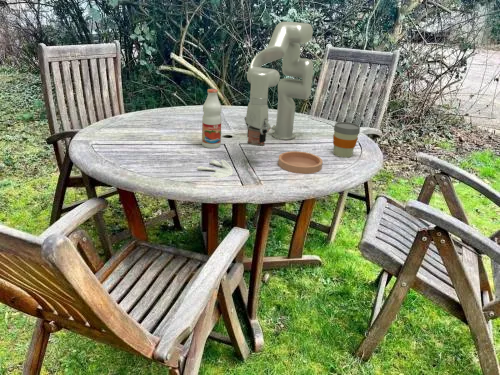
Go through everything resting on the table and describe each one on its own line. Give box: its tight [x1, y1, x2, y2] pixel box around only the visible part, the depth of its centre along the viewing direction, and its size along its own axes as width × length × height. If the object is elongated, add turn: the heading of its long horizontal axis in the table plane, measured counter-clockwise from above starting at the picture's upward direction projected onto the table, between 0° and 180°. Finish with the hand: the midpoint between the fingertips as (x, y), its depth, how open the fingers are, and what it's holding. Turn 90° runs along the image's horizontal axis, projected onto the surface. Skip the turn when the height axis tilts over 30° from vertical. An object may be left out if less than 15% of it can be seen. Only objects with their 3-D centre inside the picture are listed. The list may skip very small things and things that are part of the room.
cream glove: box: [196, 159, 234, 179], centre depth 179 cm, size 20×22×2 cm
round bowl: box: [277, 150, 324, 175], centre depth 187 cm, size 20×20×3 cm
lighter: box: [247, 127, 266, 147], centre depth 182 cm, size 8×3×10 cm, turn 71°
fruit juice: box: [201, 88, 223, 149], centre depth 199 cm, size 9×9×28 cm
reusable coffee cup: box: [332, 121, 361, 158], centre depth 202 cm, size 13×13×15 cm
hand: (256, 139), depth 183 cm, fingers closed on lighter, 7 cm apart
